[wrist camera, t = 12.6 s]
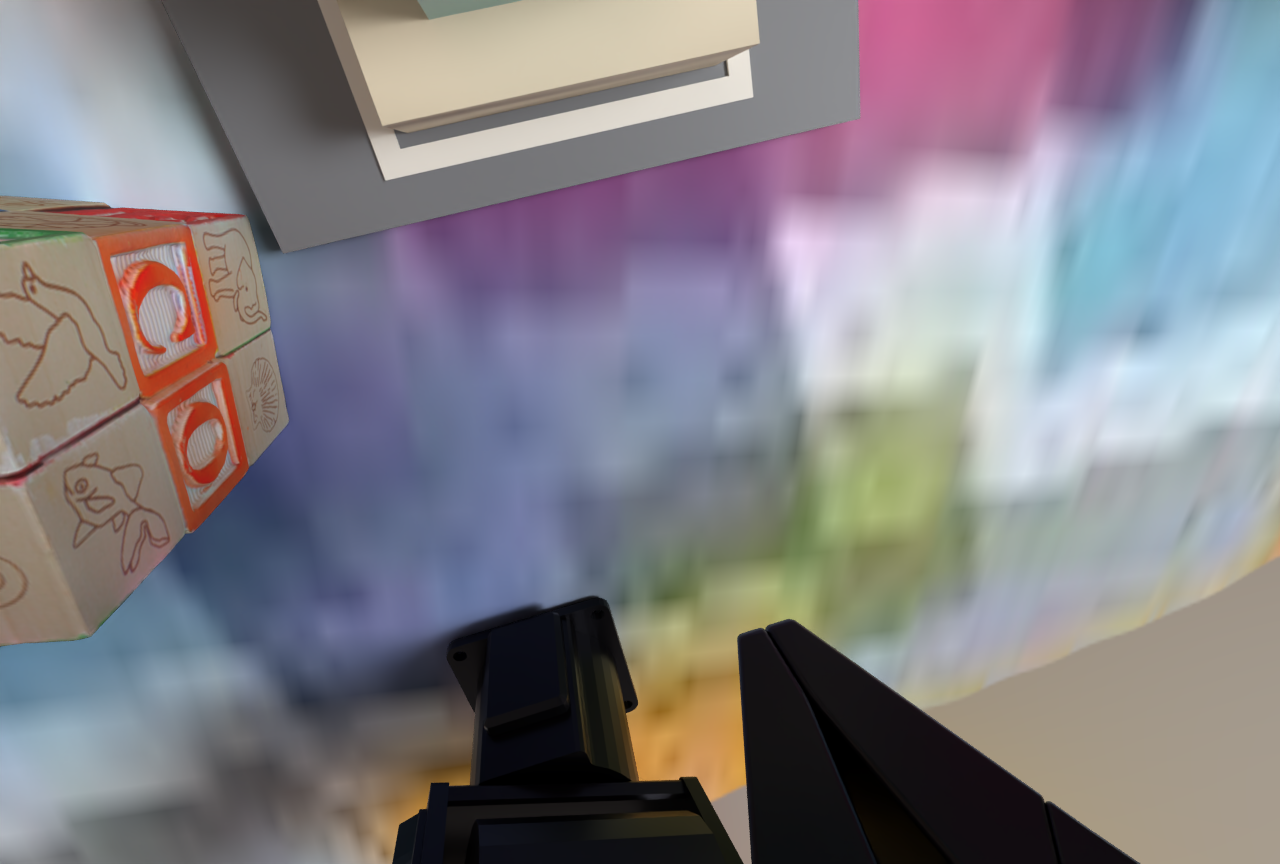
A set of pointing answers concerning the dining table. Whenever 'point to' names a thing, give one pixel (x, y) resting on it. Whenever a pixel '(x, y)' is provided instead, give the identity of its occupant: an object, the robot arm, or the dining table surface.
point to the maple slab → (531, 51)
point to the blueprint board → (491, 145)
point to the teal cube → (456, 6)
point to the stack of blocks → (120, 398)
